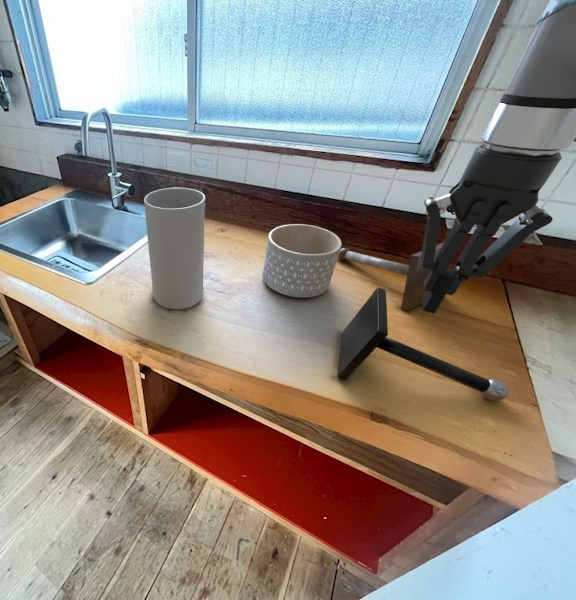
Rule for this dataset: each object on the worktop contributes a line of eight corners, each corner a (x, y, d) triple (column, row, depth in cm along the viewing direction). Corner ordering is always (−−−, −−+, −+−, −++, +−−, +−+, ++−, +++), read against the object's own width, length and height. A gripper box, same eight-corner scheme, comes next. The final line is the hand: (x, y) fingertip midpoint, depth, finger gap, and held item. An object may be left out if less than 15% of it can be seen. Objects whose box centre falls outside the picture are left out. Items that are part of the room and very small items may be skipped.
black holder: (336, 378, 59) (358, 325, 51) (341, 333, 68) (360, 283, 60) (511, 432, 50) (572, 378, 42) (490, 372, 59) (536, 318, 51)
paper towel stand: (441, 295, 77) (469, 247, 70) (406, 311, 73) (432, 262, 65) (352, 251, 95) (367, 209, 88) (320, 262, 91) (332, 219, 83)
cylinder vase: (212, 299, 79) (217, 200, 64) (168, 317, 74) (162, 214, 59) (185, 276, 88) (184, 184, 72) (144, 291, 83) (134, 195, 68)
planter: (249, 282, 84) (254, 238, 77) (285, 260, 93) (293, 218, 85) (305, 310, 74) (318, 263, 67) (340, 283, 83) (355, 238, 75)
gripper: (582, 143, 37) (473, 304, 51) (445, 137, 42) (381, 285, 56) (616, 160, 32) (484, 333, 46) (456, 150, 36) (381, 310, 51)
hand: (427, 307), depth 51 cm, fingers closed
